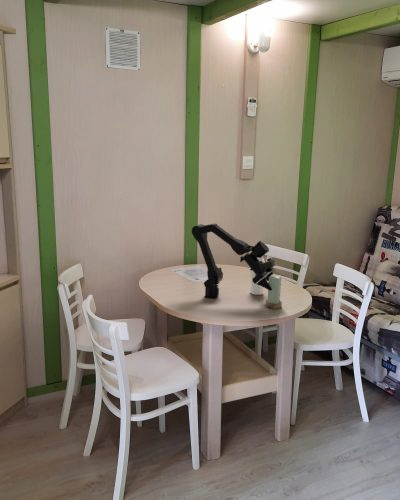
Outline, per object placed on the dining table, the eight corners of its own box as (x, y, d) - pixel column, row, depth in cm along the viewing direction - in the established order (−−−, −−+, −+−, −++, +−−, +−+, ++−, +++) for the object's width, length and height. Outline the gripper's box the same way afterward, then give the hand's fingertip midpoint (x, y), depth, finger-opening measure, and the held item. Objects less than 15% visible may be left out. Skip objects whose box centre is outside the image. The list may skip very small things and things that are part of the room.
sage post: (267, 302, 236) (268, 277, 233) (270, 299, 240) (271, 274, 238) (277, 303, 234) (278, 278, 231) (279, 301, 238) (281, 276, 236)
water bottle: (261, 291, 262) (264, 247, 257) (264, 295, 256) (266, 250, 250) (249, 291, 262) (251, 247, 257) (251, 295, 255) (253, 249, 250)
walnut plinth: (264, 308, 235) (264, 303, 234) (266, 303, 242) (266, 298, 242) (280, 309, 233) (281, 305, 232) (282, 304, 240) (282, 300, 240)
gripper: (260, 257, 226) (281, 283, 224) (271, 250, 243) (290, 274, 241) (243, 271, 231) (264, 296, 229) (255, 263, 247) (274, 286, 245)
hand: (273, 287), depth 236 cm, fingers open, 9 cm apart
